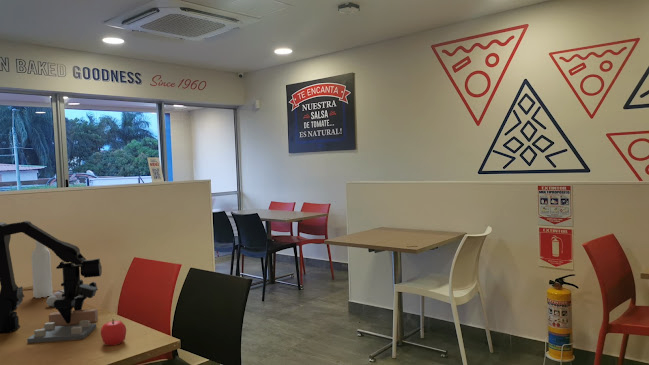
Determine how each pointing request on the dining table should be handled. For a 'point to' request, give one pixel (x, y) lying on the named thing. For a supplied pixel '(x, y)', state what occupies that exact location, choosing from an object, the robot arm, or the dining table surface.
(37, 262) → the bottle
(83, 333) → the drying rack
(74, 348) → the dining table surface
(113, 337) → the apple
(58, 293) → the ice cream cone
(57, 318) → the clay strip
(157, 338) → the dining table surface
